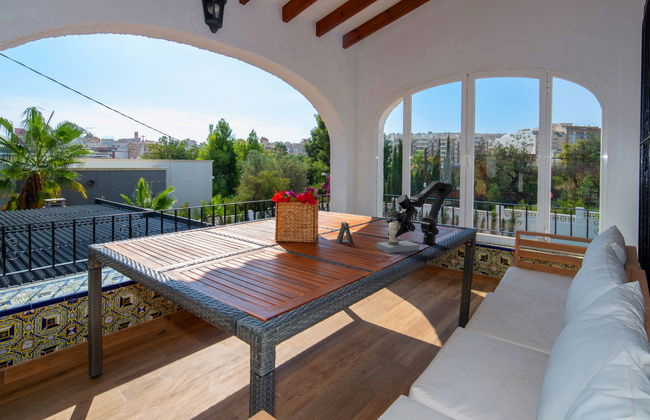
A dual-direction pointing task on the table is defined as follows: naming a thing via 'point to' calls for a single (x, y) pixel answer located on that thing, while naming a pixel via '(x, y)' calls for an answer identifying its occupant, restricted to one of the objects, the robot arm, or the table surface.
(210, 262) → the table surface
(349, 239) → the grey a-shaped frame
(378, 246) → the grey slab with hole
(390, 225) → the ash peg
